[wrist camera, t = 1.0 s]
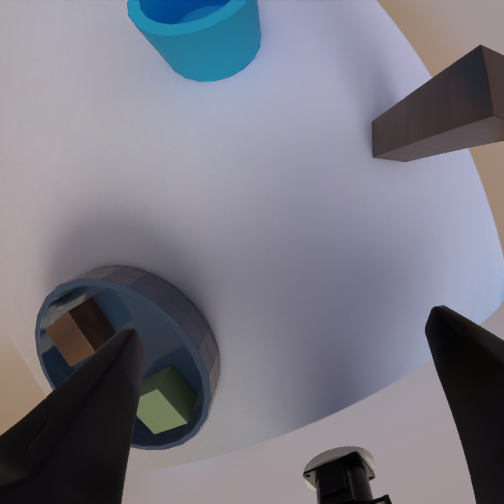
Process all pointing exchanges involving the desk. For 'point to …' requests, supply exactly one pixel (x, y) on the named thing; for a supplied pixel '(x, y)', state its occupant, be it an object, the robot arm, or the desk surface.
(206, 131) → the desk surface
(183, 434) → the bowl
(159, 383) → the sage cube
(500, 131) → the stick
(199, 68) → the mug
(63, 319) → the walnut cube
